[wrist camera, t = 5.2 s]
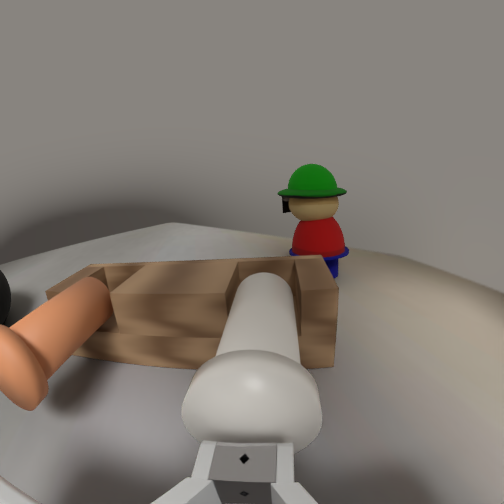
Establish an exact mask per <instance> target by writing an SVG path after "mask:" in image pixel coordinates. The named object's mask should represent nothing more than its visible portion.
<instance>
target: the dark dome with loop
mask: <svg viewBox="0 0 504 504" xmlns="http://www.w3.org/2000/svg"><path fill="white" fill-rule="evenodd" d="M10 304H11V292H10V287H9V284H8V281H7V279H6V277H5V276H4V274H3V273H2V272H1V270H0V324H1V325H3V323H4V321H5V319H6V317H7V315H8V312H9V309H10Z"/></svg>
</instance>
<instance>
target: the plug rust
mask: <svg viewBox="0 0 504 504" xmlns="http://www.w3.org/2000/svg"><path fill="white" fill-rule="evenodd" d="M113 311H114V310H113V306H112V302H111V298H110V291H109V289H108V288H107V287H106V285H105V284H104V283H102V282H101V281H100V280H98V279H96V278H94V277H84V278H82V279H81V280H79V281H78V282H76V283H75V284H73V285H71V286H70V287H68V288H67V289H65V290H64V291H62V292H61V293H59V294H58V295H56V296H55V297H53V298H51V299H50V300H48V301H47V302H46V303H44V304H43V305H41V306H40V307H38V308H37V309H35V310H34V311H32V312H31V313H29V314H28V315H26V316H25V317H24V318H22V319H21V320H19V321H18V322H16V323H15V324H14V325H12V326H11V327H10V328H8V327H6V326H4V325H1V324H0V390H1V391H2V392H3V393H4V394H5V395H6V396H7V397H8V398H9V399H10V400H11V401H12V402H13V403H15V404H16V405H17V406H19V407H21V408H23V409H25V410H28V411H32V410H34V409H35V408H36V407H37V406H38V405H39V404H40V402H41V401H42V400H43V399H44V398H45V397H46V396H47V394H48V389H49V388H48V382H47V380H48V379H49V378H50V377H51V376H52V375H53V374H54V373H55V372H56V370H57V369H58V368H59V367H60V366H61V365H62V364H63V363H64V362H65V361H66V360H67V359H68V358H69V357H70V356H71V355H72V354H73V353H74V352H75V351H76V350H77V349H78V348H79V347H80V346H81V345H82V344H83V343H84V342H85V341H86V340H87V339H88V338H89V337H90V336H91V335H92V334H93V333H94V332H95V331H96V330H97V329H98V328H99V327H100V326H101V325H103V324H104V323H105V322H106V321H107V320H108V319H109V318H110V317H111V315H112V314H113Z"/></svg>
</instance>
